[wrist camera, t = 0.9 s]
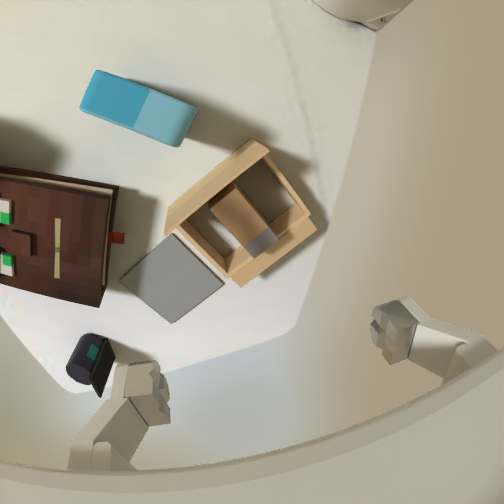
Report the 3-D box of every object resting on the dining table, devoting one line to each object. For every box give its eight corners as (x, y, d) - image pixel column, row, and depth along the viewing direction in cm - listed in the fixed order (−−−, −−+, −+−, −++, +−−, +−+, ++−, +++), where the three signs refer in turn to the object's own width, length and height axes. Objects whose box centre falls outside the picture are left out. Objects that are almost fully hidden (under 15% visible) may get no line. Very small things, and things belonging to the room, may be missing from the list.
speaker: (116, 338, 52) (102, 380, 43) (115, 357, 55) (103, 398, 45) (79, 326, 50) (61, 367, 41) (80, 346, 53) (64, 386, 44)
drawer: (251, 138, 41) (267, 148, 33) (309, 215, 48) (333, 241, 40) (168, 207, 43) (163, 233, 35) (233, 273, 51) (243, 309, 42)
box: (228, 172, 43) (235, 187, 36) (265, 217, 47) (279, 240, 40) (205, 191, 44) (209, 209, 37) (244, 234, 48) (254, 259, 41)
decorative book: (112, 320, 42) (-42, 279, 33) (120, 292, 49) (-22, 258, 40) (126, 196, 35) (-52, 165, 26) (136, 180, 41) (-25, 154, 32)
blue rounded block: (196, 107, 38) (199, 109, 27) (182, 137, 39) (178, 149, 29) (118, 76, 34) (92, 67, 23) (104, 106, 35) (74, 109, 25)
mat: (171, 233, 45) (171, 234, 45) (222, 282, 51) (223, 284, 51) (120, 279, 47) (119, 281, 47) (171, 322, 53) (171, 323, 52)
